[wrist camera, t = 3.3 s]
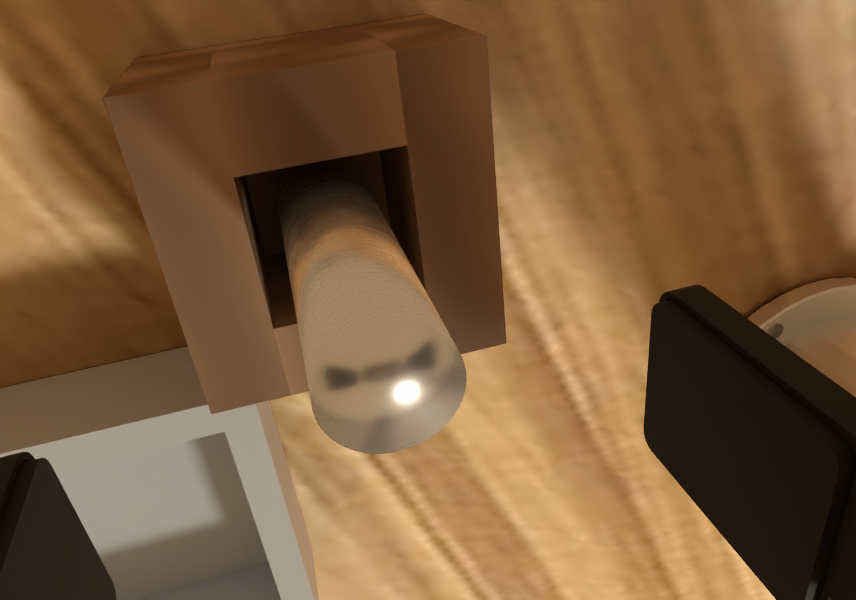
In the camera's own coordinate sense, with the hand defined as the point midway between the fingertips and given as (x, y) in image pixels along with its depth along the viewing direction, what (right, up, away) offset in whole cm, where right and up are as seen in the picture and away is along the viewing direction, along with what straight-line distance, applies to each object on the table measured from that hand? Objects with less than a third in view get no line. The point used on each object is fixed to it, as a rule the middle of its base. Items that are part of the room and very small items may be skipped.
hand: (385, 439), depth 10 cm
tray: (-11, -6, +17) cm, 21 cm away
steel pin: (-3, +6, +12) cm, 14 cm away
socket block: (-3, +6, +13) cm, 15 cm away
